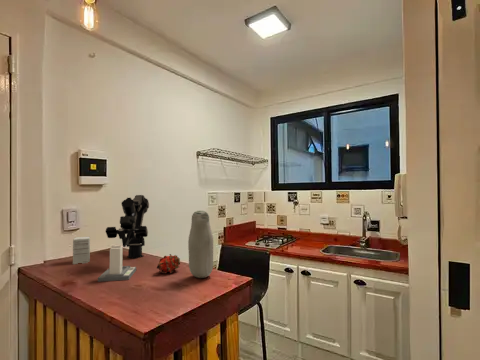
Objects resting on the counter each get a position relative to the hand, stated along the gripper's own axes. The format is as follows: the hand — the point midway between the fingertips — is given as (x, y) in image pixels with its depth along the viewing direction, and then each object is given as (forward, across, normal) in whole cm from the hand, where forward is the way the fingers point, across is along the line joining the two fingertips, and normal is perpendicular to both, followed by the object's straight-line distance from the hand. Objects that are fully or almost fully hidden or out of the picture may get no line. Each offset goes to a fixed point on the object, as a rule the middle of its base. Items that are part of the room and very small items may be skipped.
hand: (123, 246), depth 127 cm
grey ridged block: (-6, -26, +22) cm, 34 cm away
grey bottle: (+20, +36, -5) cm, 41 cm away
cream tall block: (+15, 0, -2) cm, 15 cm away
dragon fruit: (+14, +21, +2) cm, 25 cm away
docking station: (+14, 0, +1) cm, 14 cm away
